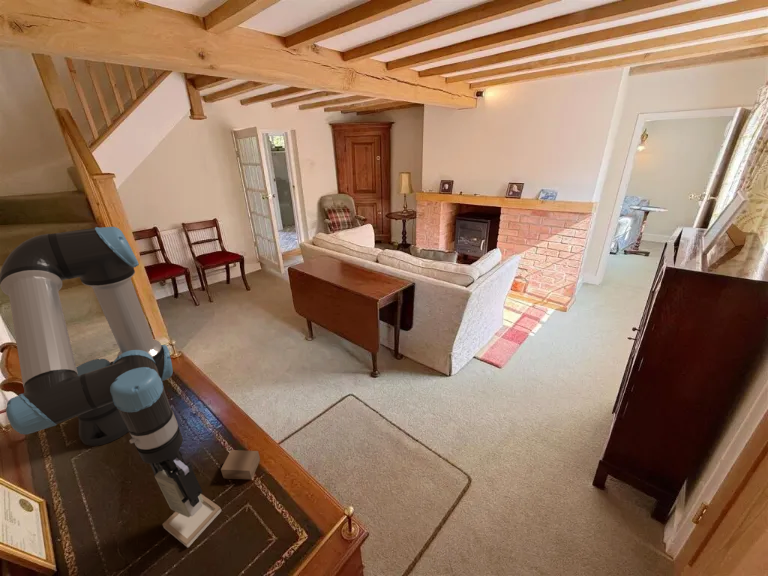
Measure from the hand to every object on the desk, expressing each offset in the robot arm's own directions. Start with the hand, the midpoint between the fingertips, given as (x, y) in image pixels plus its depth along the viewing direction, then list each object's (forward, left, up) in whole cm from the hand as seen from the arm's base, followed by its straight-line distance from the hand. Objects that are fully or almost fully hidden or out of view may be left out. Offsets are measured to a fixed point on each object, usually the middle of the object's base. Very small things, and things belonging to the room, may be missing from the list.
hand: (186, 503), depth 75 cm
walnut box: (0, +15, -7) cm, 17 cm away
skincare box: (0, 0, -1) cm, 1 cm away
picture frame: (0, 0, -7) cm, 7 cm away
